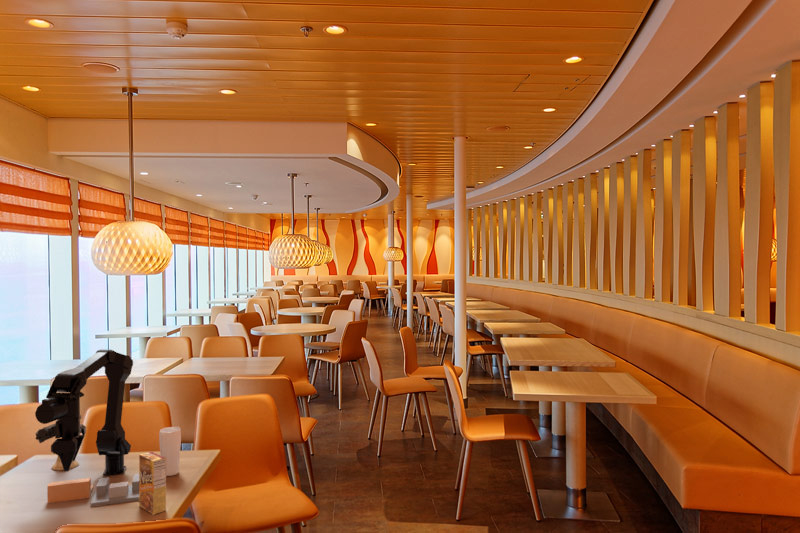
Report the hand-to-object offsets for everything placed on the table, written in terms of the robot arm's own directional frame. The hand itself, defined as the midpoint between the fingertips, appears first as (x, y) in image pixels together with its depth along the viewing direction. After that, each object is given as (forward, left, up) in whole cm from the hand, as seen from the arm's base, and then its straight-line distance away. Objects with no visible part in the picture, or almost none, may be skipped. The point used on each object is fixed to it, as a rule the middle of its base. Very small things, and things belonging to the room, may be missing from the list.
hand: (69, 465), depth 173 cm
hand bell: (-32, -7, -10) cm, 34 cm away
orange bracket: (-2, 0, -10) cm, 10 cm away
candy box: (+17, +24, -10) cm, 31 cm away
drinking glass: (-11, +28, -10) cm, 32 cm away
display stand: (+4, +14, -10) cm, 17 cm away
